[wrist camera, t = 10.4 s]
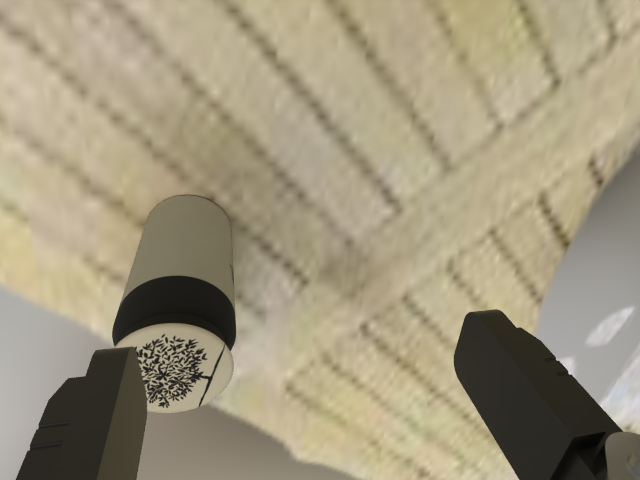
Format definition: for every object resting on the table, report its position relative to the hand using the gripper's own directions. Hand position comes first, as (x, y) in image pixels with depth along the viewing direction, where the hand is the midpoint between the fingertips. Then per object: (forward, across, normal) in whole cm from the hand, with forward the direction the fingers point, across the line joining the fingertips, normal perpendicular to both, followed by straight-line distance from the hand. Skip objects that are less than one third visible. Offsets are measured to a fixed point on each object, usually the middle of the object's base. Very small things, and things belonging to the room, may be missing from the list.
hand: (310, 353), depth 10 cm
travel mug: (+30, +6, +13) cm, 34 cm away
